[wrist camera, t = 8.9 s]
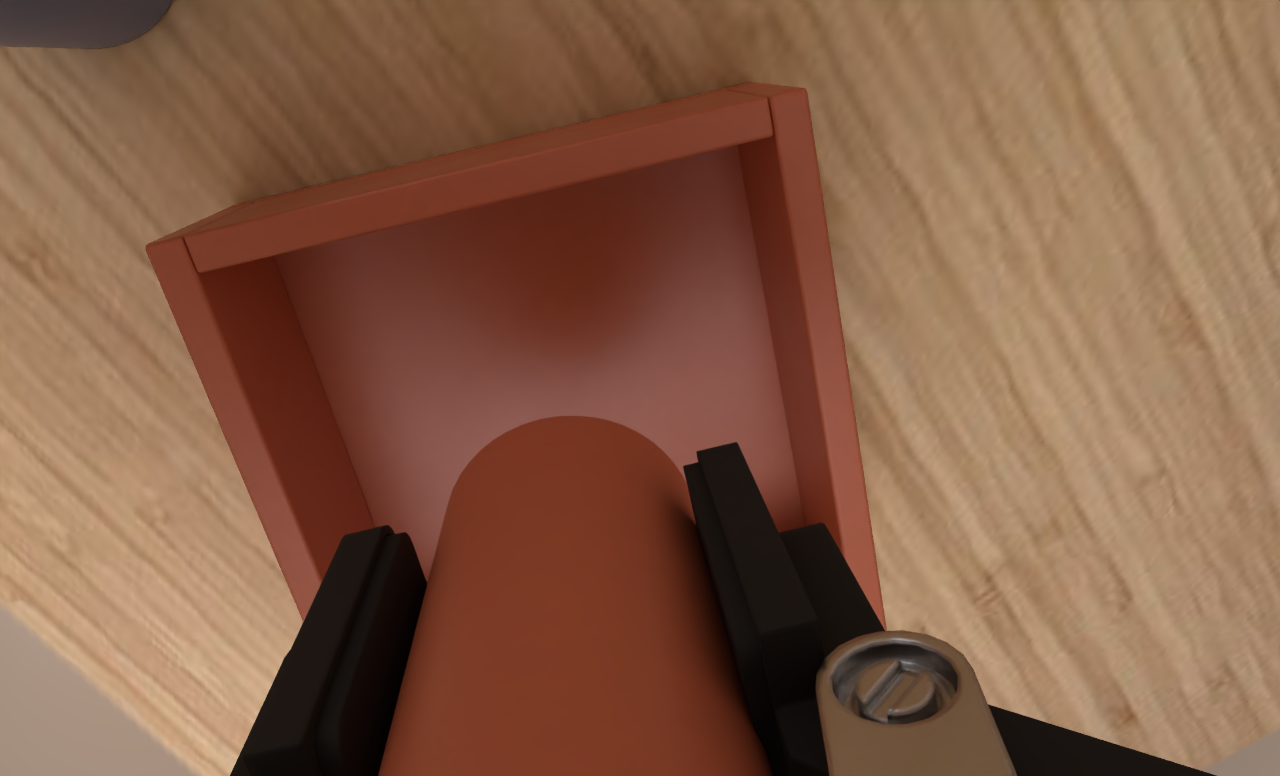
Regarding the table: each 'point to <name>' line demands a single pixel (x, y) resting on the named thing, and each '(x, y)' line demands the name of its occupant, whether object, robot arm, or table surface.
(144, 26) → the slate peg
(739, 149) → the terracotta bin
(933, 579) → the table surface
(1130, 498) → the table surface
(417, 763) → the terracotta peg
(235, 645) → the table surface
